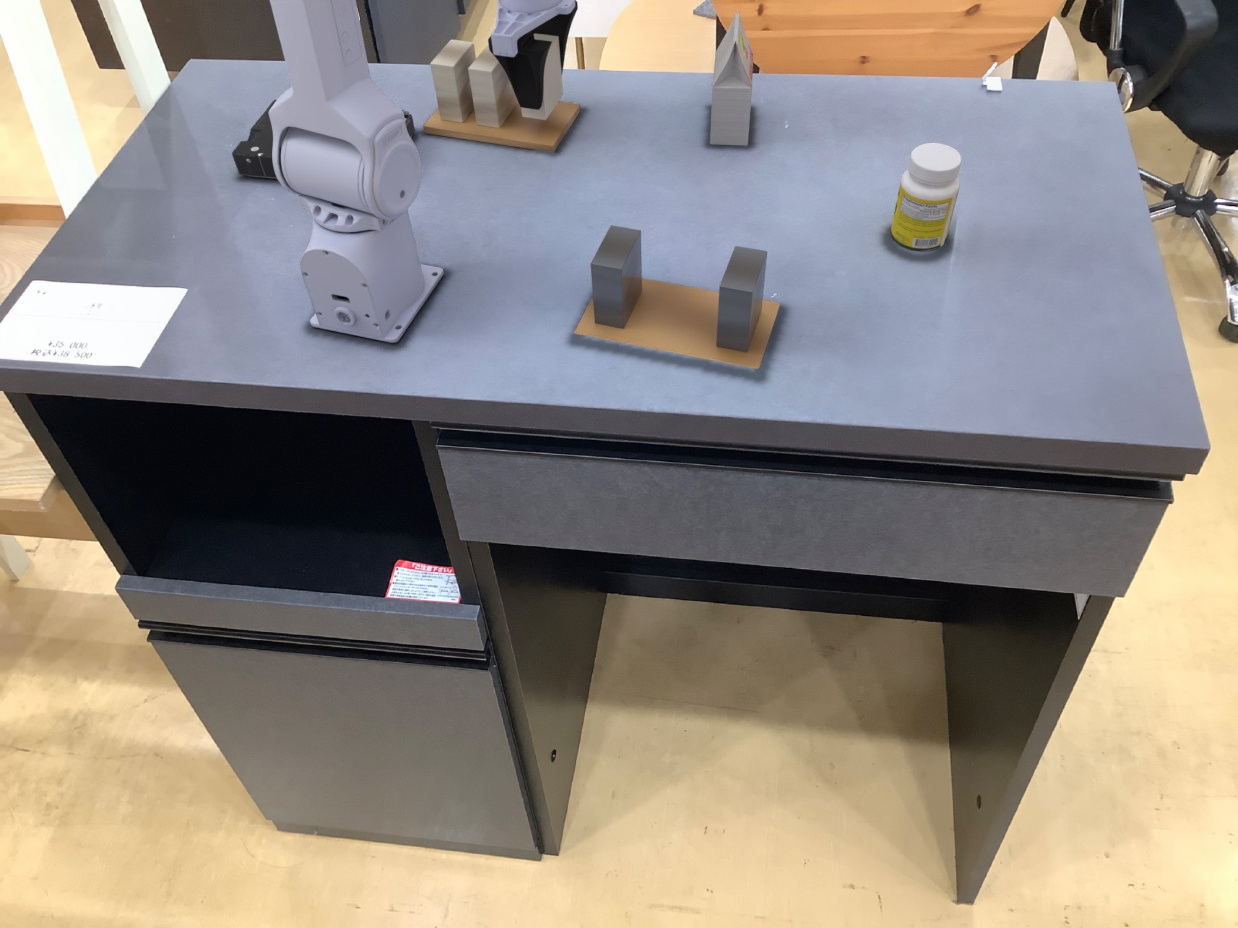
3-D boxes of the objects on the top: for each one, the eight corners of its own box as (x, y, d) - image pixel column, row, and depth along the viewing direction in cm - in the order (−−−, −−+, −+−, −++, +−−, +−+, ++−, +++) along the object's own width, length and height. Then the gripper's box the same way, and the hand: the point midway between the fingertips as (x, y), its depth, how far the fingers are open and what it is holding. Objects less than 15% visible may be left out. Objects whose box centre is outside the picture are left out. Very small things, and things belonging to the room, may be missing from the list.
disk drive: (239, 180, 95) (384, 189, 93) (229, 154, 93) (377, 163, 91) (280, 123, 102) (417, 130, 100) (272, 98, 100) (411, 105, 98)
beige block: (545, 120, 96) (540, 61, 91) (522, 117, 96) (515, 58, 92) (563, 94, 99) (558, 36, 94) (540, 91, 99) (534, 33, 95)
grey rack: (758, 376, 75) (765, 308, 70) (574, 340, 79) (567, 272, 74) (779, 310, 80) (787, 241, 75) (605, 278, 84) (601, 211, 78)
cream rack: (553, 153, 96) (547, 87, 91) (424, 133, 100) (411, 69, 94) (580, 111, 101) (576, 47, 96) (456, 93, 104) (445, 30, 99)
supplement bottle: (909, 218, 88) (929, 133, 81) (955, 240, 85) (979, 154, 79) (877, 242, 86) (894, 157, 79) (923, 266, 83) (945, 180, 77)
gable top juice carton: (709, 144, 96) (714, 45, 89) (713, 108, 101) (717, 10, 93) (747, 145, 96) (755, 46, 89) (749, 109, 100) (756, 11, 93)
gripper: (539, -12, 81) (553, 137, 91) (595, -81, 90) (602, 61, 100) (460, -21, 82) (483, 127, 93) (523, -88, 91) (538, 53, 102)
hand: (540, 92), depth 97 cm, fingers closed on beige block, 5 cm apart
